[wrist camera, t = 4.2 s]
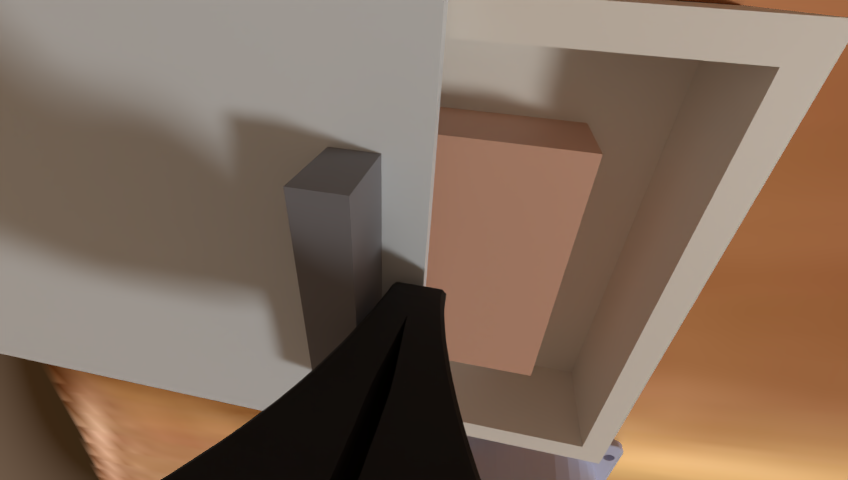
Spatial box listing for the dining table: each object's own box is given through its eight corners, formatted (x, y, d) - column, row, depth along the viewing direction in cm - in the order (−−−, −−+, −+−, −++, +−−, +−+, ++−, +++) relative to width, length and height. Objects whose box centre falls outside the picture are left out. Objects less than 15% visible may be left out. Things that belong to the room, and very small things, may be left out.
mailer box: (583, 372, 18) (599, 463, 14) (210, 303, 20) (149, 368, 16) (743, 5, 10) (860, 19, 6) (97, -41, 12) (-62, -49, 9)
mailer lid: (414, 430, 15) (398, 503, 13) (-5, 340, 17) (-76, 390, 15) (448, -5, 7) (421, 2, 5) (-325, -62, 9) (-562, -74, 7)
